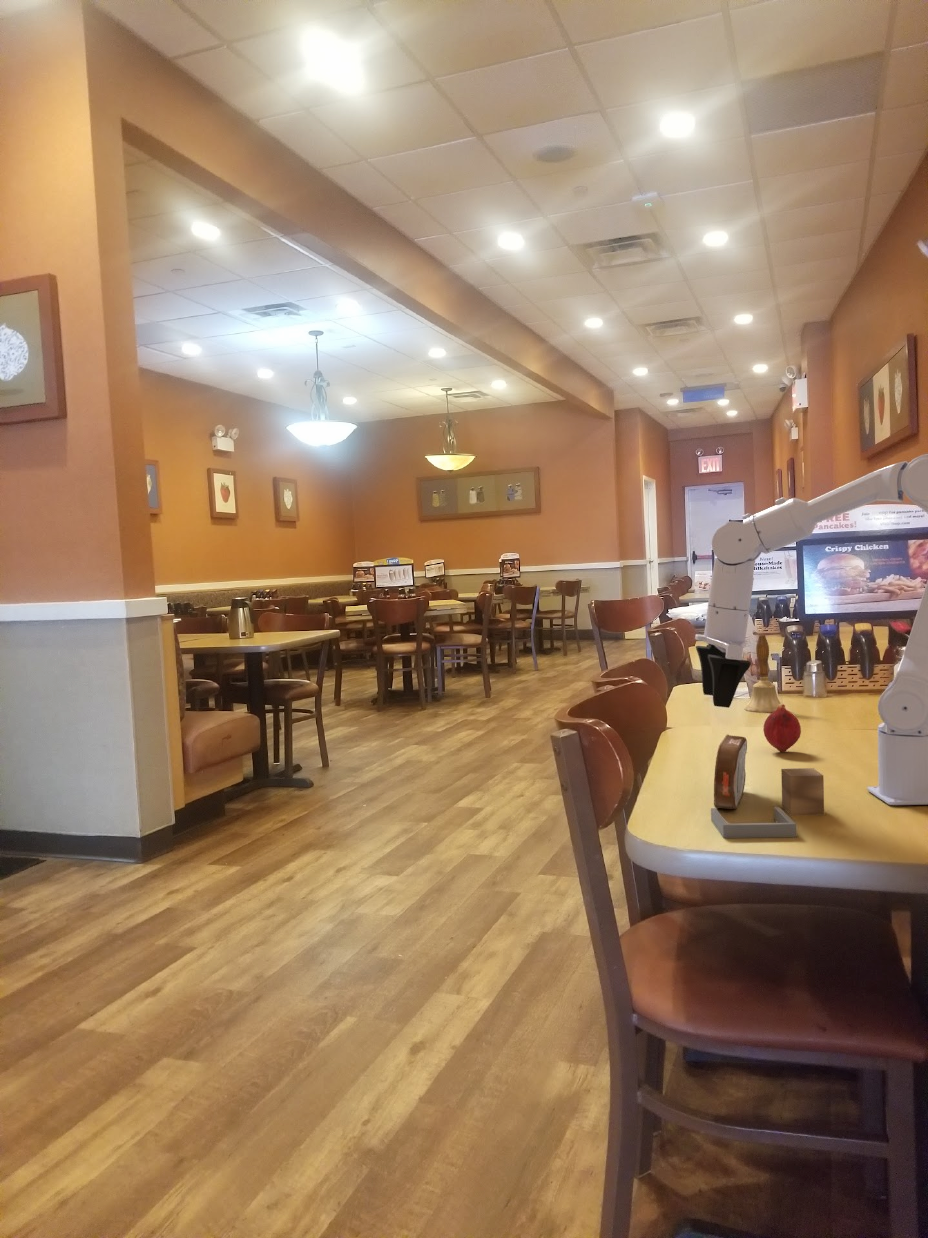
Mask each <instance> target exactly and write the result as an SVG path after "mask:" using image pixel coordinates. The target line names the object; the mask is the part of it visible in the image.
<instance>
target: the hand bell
mask: <svg viewBox="0 0 928 1238" xmlns="http://www.w3.org/2000/svg"><path fill="white" fill-rule="evenodd" d="M769 646H770V645H769V643H768V640H767V637H766V634H759V635H758V638H757V642H756V646H755V647H756V648H755V652H756V653H755V654H756V657H757V661H758V664H759V681H757V682H756V683H754V684H753V685H752V694H751V697H750V700H749V701H748V703H747V704H746V705H745V706H744V710H745V711H747V712H750V713H761V714H763V713H764V714H766V713H767V714H768V713H769V714H771V713H773V712H774V711H776V710H777V708H778V705H779V704H782V703H781V701H780V699H779V697H778V693H777V689H776V685H775V684H774V683H773V682H771V681H770V680H769V675H768V672H769V671H768V661H769V658H770V647H769Z"/></svg>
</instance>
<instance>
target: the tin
mask: <svg viewBox="0 0 928 1238" xmlns="http://www.w3.org/2000/svg"><path fill="white" fill-rule="evenodd" d="M747 749H748V740H747V738H746V737H745V736H739V735H732V734H731V735H730V734H729V733H727V734H726V735H725V736H724V738H723V739H722V740H721V742H720V744H719V745H718V748H717V753H716V758H715V766H714V767H715V769H714V777H713V778H714V779H713V806H714V808H716V809H727V810H736V809H737V808H738V806H739V804H740V801H741V800H742V797H743V795H744V792H745V791H744V790H745V785H746V774H747V773H746V754H747Z"/></svg>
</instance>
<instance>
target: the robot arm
mask: <svg viewBox="0 0 928 1238" xmlns="http://www.w3.org/2000/svg"><path fill="white" fill-rule="evenodd" d="M904 496H905V497H906V498H907V499H908V500H910V501H911V502H912V503H913V504H914V505H916V506H917V507H919V508H920V509H921V510H922V511H924V512H925V513H926V514H927V515H928V453H925V454H921V455H919V456H917V457H915V458H913V459H911V461H909V462H908V461H907V460H905V461H901V462H897V463H896V462H895V463H894V464H890V465H888V466H885V467H883V468H879V469H876V470H875V471H872V472H870V473H867V474H866V475H864V476H861V477H859V478H857V479H854V480H853V481H850V482H848V483H846V484H844V485H841V486H840V487H837V488H835V489H833V490H831V491H828V492H826V493H824V494H822V495H820V496H818V497H815V498H813V499H811V500H809V501H805V500H802V499H800V498H797V497H792V498H790V499H787V498H786V497H781V498H778V499H776V500H775V501H774V503H775V505H774V506H771V507H769V508H766V509H764V510H762V511H760V512H757V513H755V514H751V513H749V512H748V513H746V514H744V515H743V514H742V520H743V521H742V522H740V521H728V522H726V523H725V524H724V525H721V527H719V528H718V529H717V530H716V531H715V533H714V534H713V536H712V539H711V549H712V551H713V555H715V557H714V562H713V569H712V573H711V580H710V586H709V587H710V588H709V593H708V594H709V595H708V601H707V602H708V603H707V610H706V611H707V612H706V617H705V618H706V619H705V624H704V632H703V633H704V634H699V633H696V634H695V636H694V640H696V641H699V642H704V643H706V645H696V646H695V649H696V652H697V655H698V659H699V662H700V663H699V664H700V670H701V685H702V692H703V695H705V696H712V703H713V706H714V707H718V708H719V707H720V708H727V709H728V708H730V707H731V704H732V703H733V700H734V697H735V694H736V692H737V689H738V686H739V685H740V682H741V681H742V679H743V677H744V675H746V672H748V670H749V669H750V667H751V665H752V662H751V661H749V660H747V659H742V658H743V652H744V651H743V650H744V649H745V647H746V646H747V640H746V637H747V631H748V630H747V629H748V624H749V617H750V608H751V601H752V593H753V586H754V573H755V572H754V571H755V567H756V564H755V563H756V560H757V559H758V558H759V557H760V556H761V554H762V553H763V554H770V553H772V552H774V551H777V550H779V549H781V548H784V547H786V546H790V545H792V544H795V543H796V542H799V541H802V540H804V539H808V538H810V537H811V536H812V534H813V532H814V530H815V527H816V526H817V524H818V523H821V522H823V521H826V520H829V519H832V518H834V517H837V516H840V515H843V514H845V513H847V512H850V511H853V510H856V509H858V508H862V507H863V506H867V505H869V504H872V503H874V502H879V501H880V502H881V501H882V502H893V503H903V502H904ZM926 581H927V582H926V584H925V587H924V590H923V593H922V597H921V599H920V603H919V606H918V609H917V612H916V615H915V618H914V621H913V624H912V626H911V627H912V628H911V630H910V634H909V636H908V640H907V643H906V646H905V648H904V652H903V655H902V657H901V660H900V662H899V665H898V668H897V671H896V672H895V677H894V679H893V680H892V681H890V683H889V684H888V685H887V687H886V688H885V690H884V691H883V692H882V693H881V695H880V696H879V699H878V701H877V702H878V703H877V711H878V716H879V718H880V719H881V721H882V722H881V723H879V724H877V760H878V762H877V766H878V767H877V769H878V771H877V772H878V773H877V774H878V779H877V780H878V782H877V783H878V786H867V788H866V790H867V791H868V792H870V793H871V794H872V795H874V796H875V797H877V798H878V799H879V800H882V801H883V802H884V803H886V804H887V805H889V806H915V805H916V806H917V805H918V806H919V805H920V806H921V805H922V806H924V805H926V806H927V805H928V580H926Z"/></svg>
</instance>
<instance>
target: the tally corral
mask: <svg viewBox="0 0 928 1238" xmlns="http://www.w3.org/2000/svg"><path fill="white" fill-rule="evenodd" d="M710 819H711V820H710V821H711V822H712V824H713V825H714V826H715V828H716V829H717V831H718V833H719V834H720V835H721V837H722V838H723V839H737V838H739V839H743V838H744V839H746V838H747V839H749V838H750V839H751V838H797V823H796V822H795V821H794V820H792V817H791V818H790V817H789V815H788V814H787V813H785V811H783V809H782V808H781V807H779V806H773V820H774V821H775V822H754V823H753V822H747V823H745V822H743V823H737V822H736V823H728V822H727V821H726V819H725V818H724V817H723V816H722V814H721V813H720V812H719V811H718V808H715V807H714V808H713V807H711V808H710Z"/></svg>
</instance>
